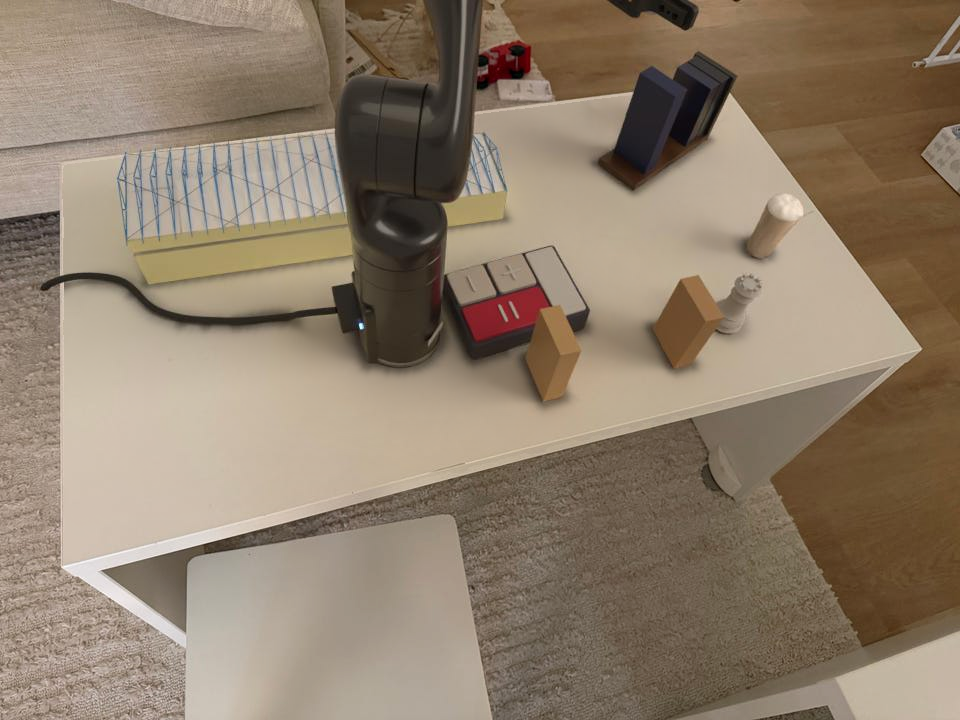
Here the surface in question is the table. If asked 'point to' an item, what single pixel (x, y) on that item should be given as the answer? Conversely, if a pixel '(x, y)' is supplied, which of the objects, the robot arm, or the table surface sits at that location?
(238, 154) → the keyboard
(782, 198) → the milkshake
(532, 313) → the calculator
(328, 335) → the table surface
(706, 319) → the tan blocks
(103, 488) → the table surface
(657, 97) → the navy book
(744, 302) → the rook chess piece
